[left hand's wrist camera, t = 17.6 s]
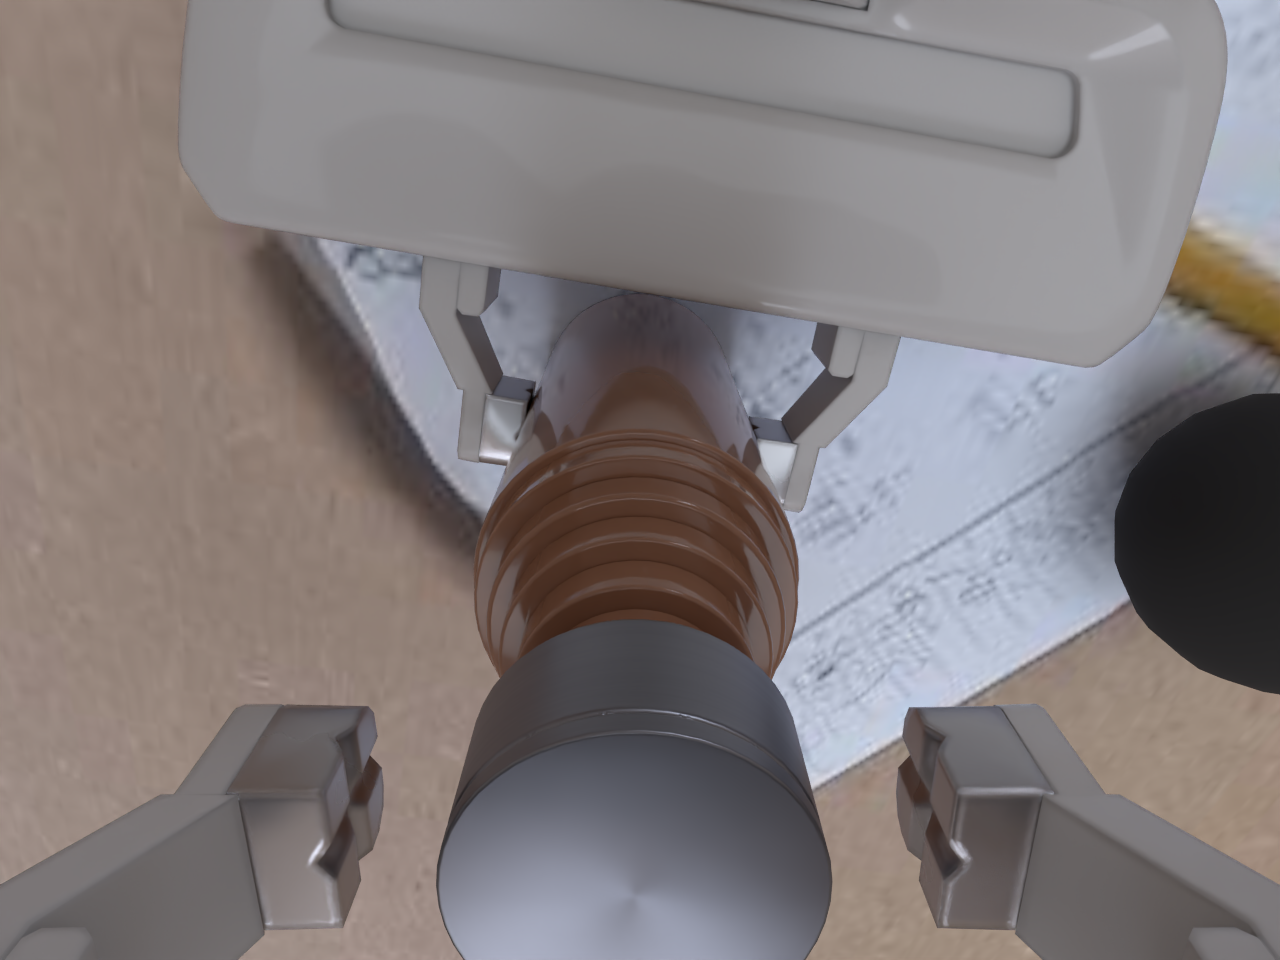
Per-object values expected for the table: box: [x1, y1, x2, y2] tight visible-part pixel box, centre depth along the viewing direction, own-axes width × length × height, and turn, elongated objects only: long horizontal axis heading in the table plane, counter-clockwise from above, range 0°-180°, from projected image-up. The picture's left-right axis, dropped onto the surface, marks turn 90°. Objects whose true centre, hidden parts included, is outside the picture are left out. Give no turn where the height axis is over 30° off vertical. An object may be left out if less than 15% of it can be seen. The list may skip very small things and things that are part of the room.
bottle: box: [474, 294, 799, 680], centre depth 18 cm, size 5×5×18 cm
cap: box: [436, 619, 832, 960], centre depth 10 cm, size 4×4×2 cm
